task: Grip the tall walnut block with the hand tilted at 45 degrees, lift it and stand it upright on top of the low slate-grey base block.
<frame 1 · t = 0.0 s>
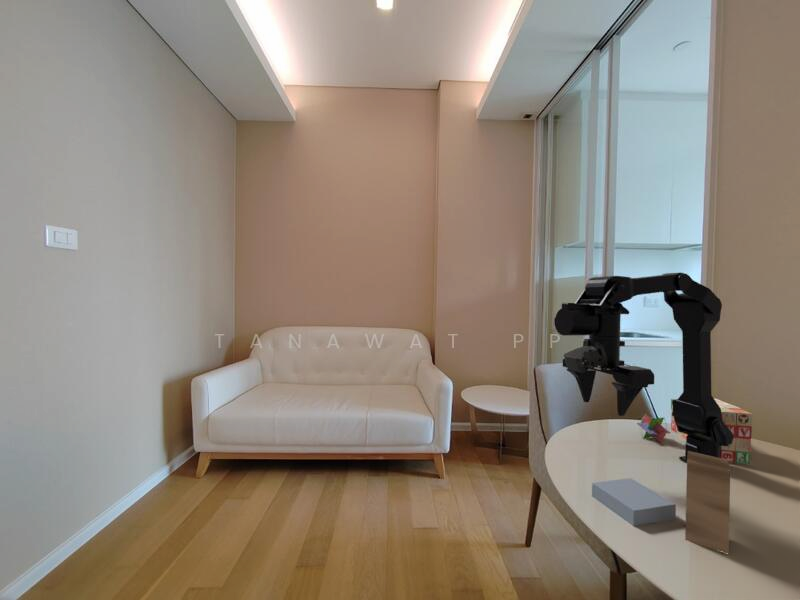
hand: (602, 408, 74), 15 cm above the table, tool pointing down, fingers open, 9 cm apart
slate base block: (631, 509, 64), on the table
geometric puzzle: (653, 440, 95), on the table
stack of blocks: (705, 446, 93), on the table
walnut block: (705, 538, 56), on the table
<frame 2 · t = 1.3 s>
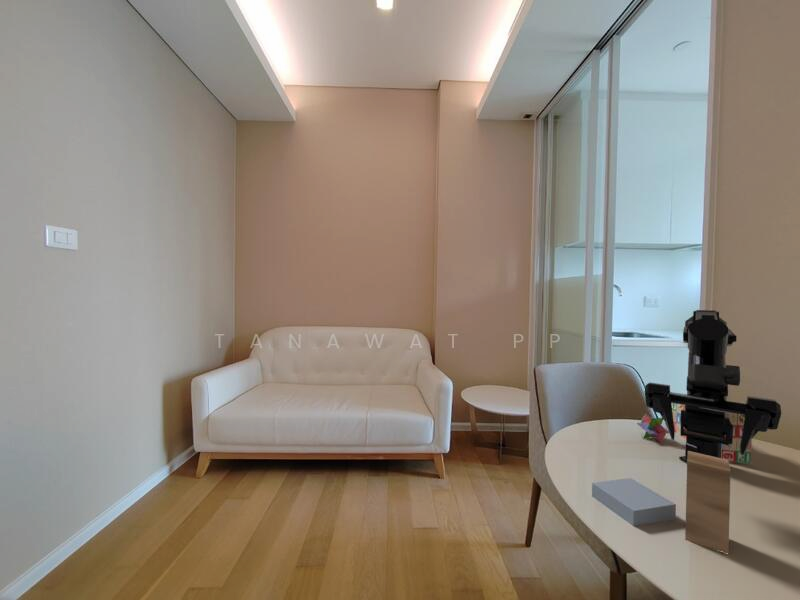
hand: (705, 445, 61), 12 cm above the table, tool tilted 45°, fingers open, 9 cm apart
nothing on the table moved.
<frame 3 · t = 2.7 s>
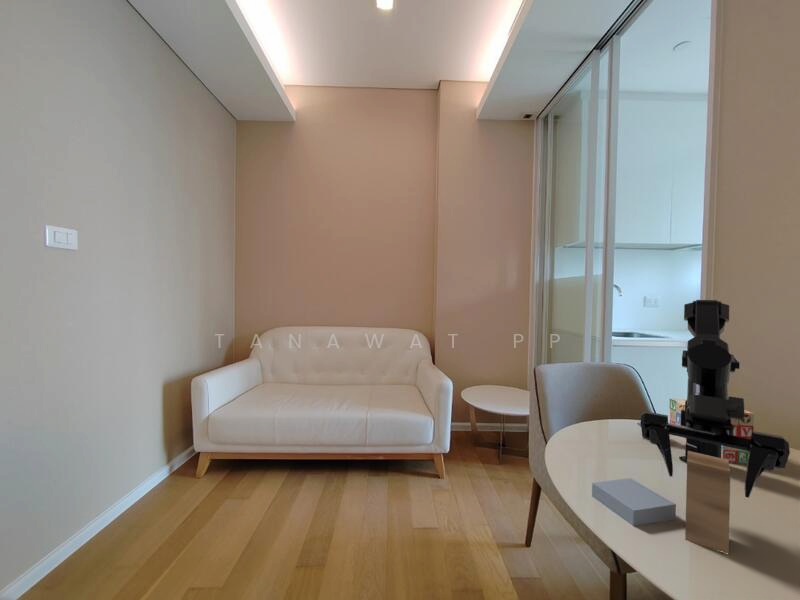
hand: (707, 485, 56), 8 cm above the table, tool tilted 45°, fingers open, 9 cm apart
nothing on the table moved.
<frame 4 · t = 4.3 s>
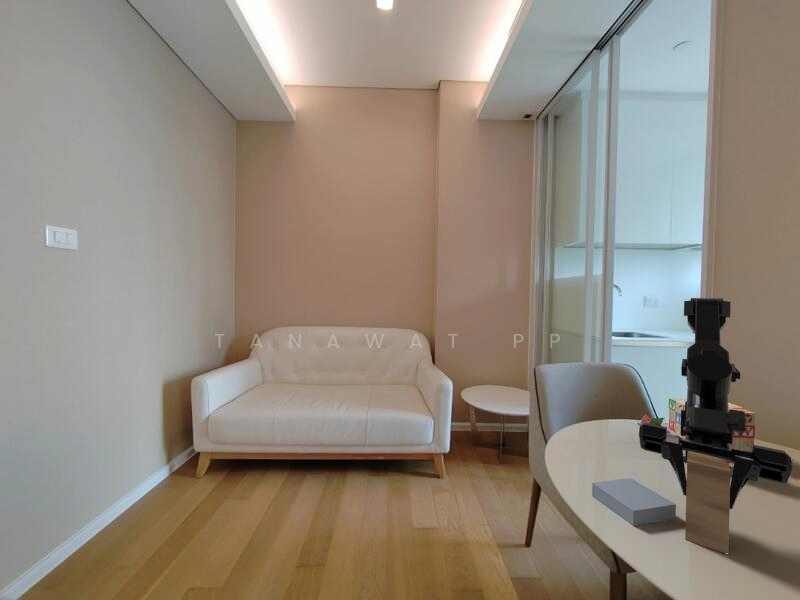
hand: (707, 500, 55), 7 cm above the table, tool tilted 45°, fingers closed on walnut block, 5 cm apart
walnut block: (705, 538, 56), on the table, touching gripper
everything else where it was.
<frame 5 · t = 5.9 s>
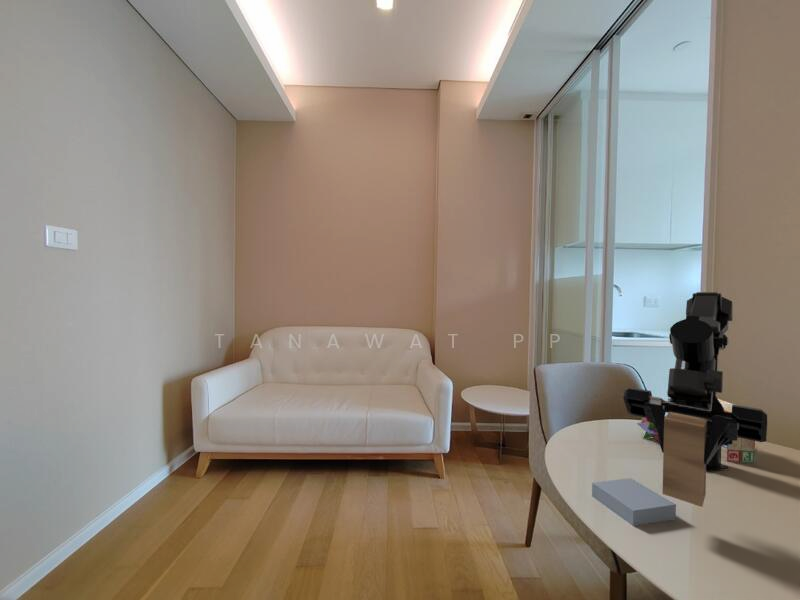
hand: (683, 457, 57), 12 cm above the table, tool tilted 45°, fingers closed on walnut block, 5 cm apart
walnut block: (684, 494, 58), point 6 cm above the table, touching gripper
everything else where it was.
when the fingers open (11 cm above the table, at t = 7.6 s): walnut block drops 2 cm, resting on slate base block.
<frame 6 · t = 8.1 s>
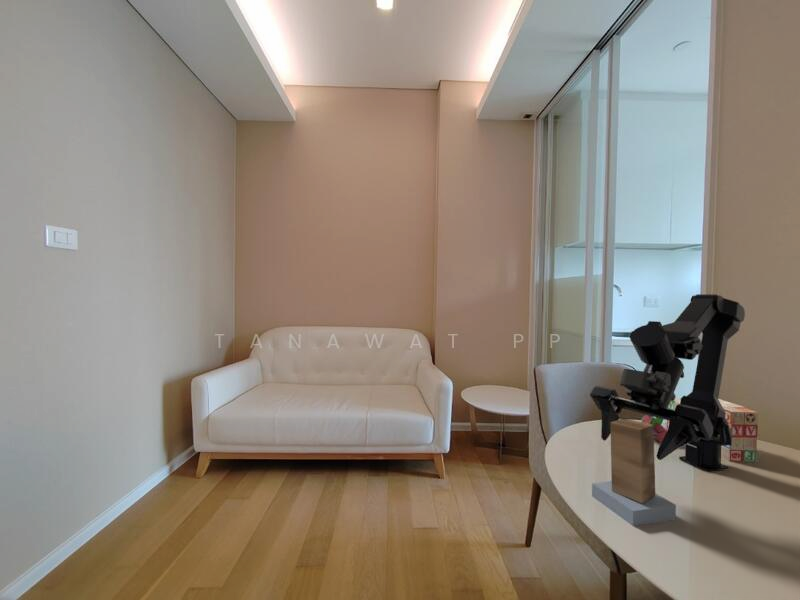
hand: (629, 448, 63), 11 cm above the table, tool tilted 45°, fingers open, 9 cm apart
slate base block: (631, 509, 64), on the table, touching walnut block
walnut block: (633, 493, 64), point 3 cm above the table, touching slate base block
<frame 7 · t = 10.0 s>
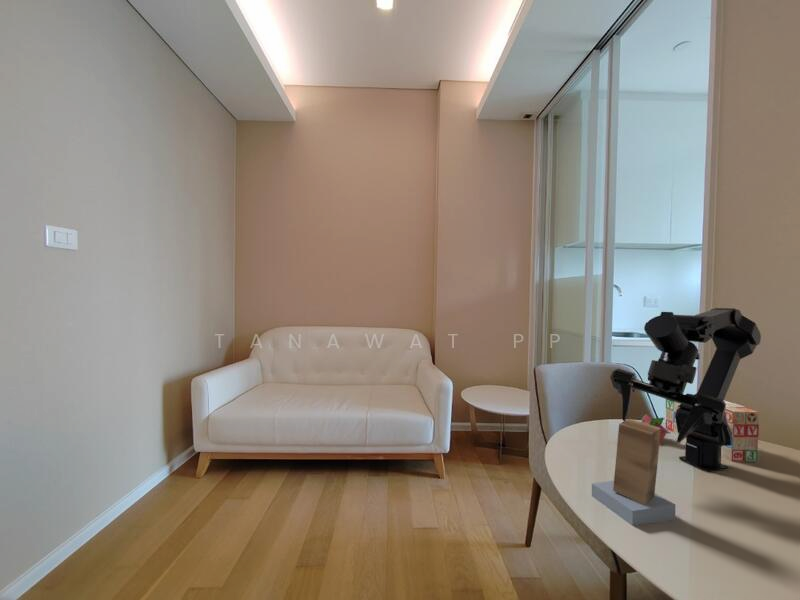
hand: (649, 430, 70), 12 cm above the table, tool tilted 40°, fingers open, 9 cm apart
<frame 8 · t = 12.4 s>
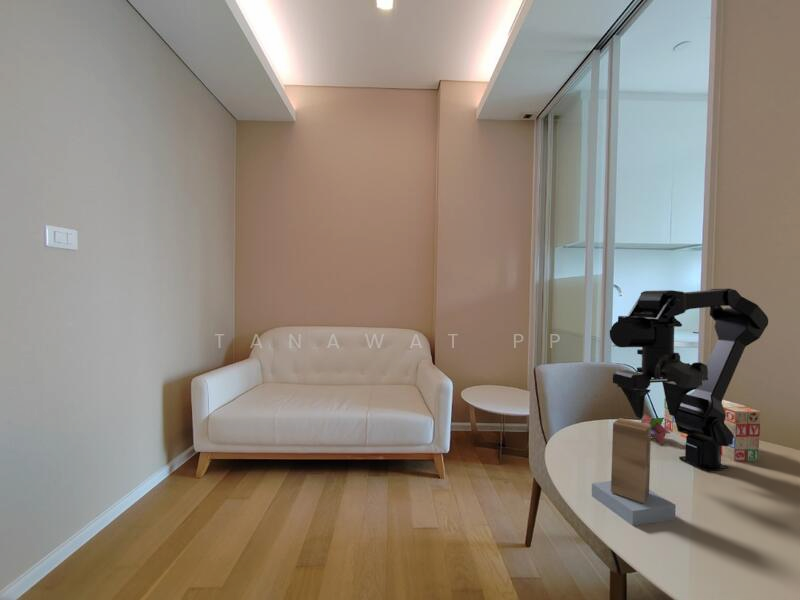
hand: (656, 416, 78), 12 cm above the table, tool pointing down, fingers open, 9 cm apart
slate base block: (631, 509, 64), on the table
walnut block: (630, 492, 64), point 3 cm above the table
at the end: walnut block 0.3 cm off-centre on the slate base block, point 3.2 cm above the slate base block's base; walnut block tilted 4°; the gripper is holding nothing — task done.
